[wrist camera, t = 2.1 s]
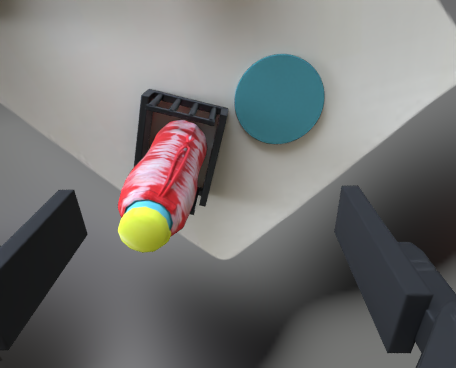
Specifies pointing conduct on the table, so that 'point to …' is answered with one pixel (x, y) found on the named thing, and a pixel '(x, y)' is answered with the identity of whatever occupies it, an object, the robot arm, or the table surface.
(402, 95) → the table surface
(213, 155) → the rack
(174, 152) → the water bottle
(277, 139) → the mat
